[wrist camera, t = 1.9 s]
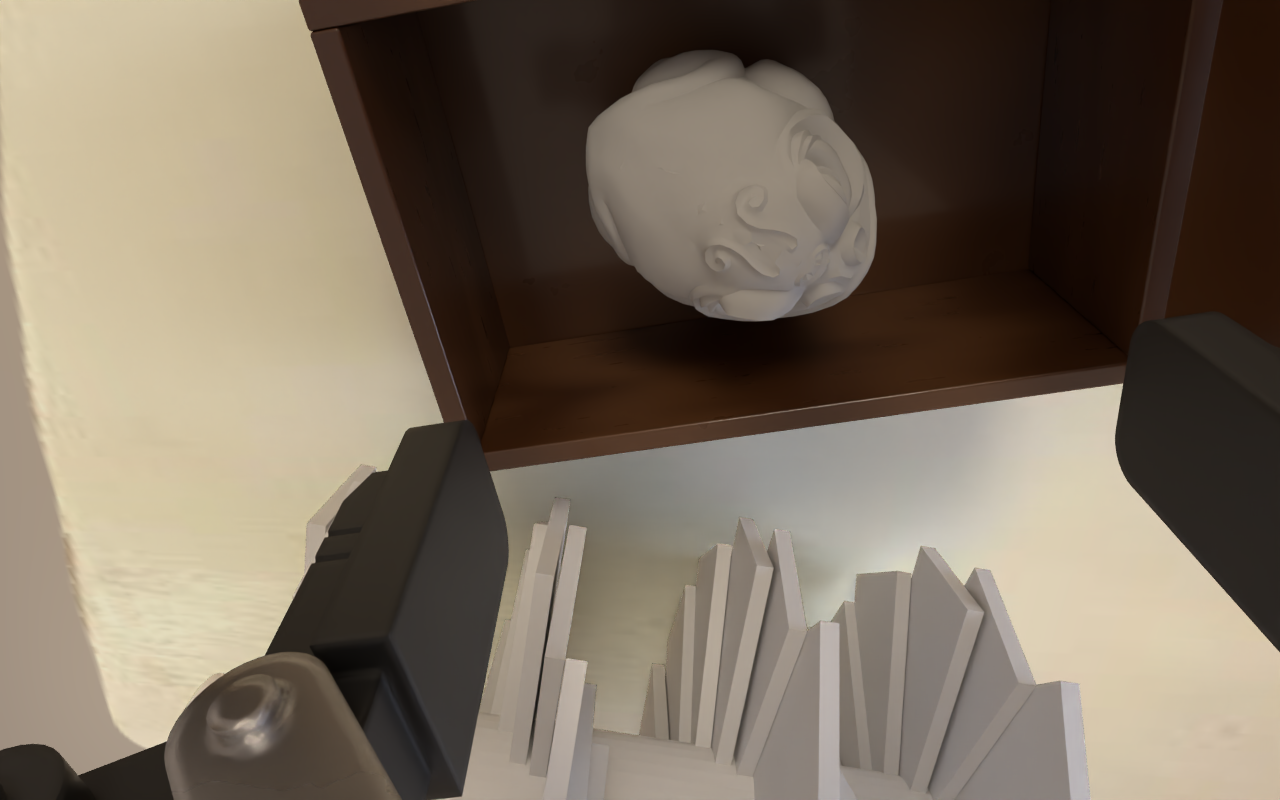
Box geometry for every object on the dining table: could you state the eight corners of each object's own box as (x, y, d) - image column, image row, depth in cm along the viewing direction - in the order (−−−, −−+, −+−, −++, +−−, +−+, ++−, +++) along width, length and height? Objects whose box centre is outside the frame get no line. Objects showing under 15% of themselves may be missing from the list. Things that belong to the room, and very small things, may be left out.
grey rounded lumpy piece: (762, 293, 25) (803, 413, 19) (551, 193, 23) (521, 289, 17) (877, 108, 22) (969, 178, 16) (647, -21, 20) (651, 2, 14)
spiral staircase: (342, 412, 32) (948, 511, 33) (285, 826, 34) (867, 909, 34) (-23, 522, 14) (1349, 734, 15) (-112, 1416, 15) (1141, 1556, 16)
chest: (499, 357, 26) (461, 476, 21) (389, -23, 21) (295, -2, 15) (1037, 276, 25) (1155, 379, 19) (1077, -156, 19) (1262, -189, 14)
